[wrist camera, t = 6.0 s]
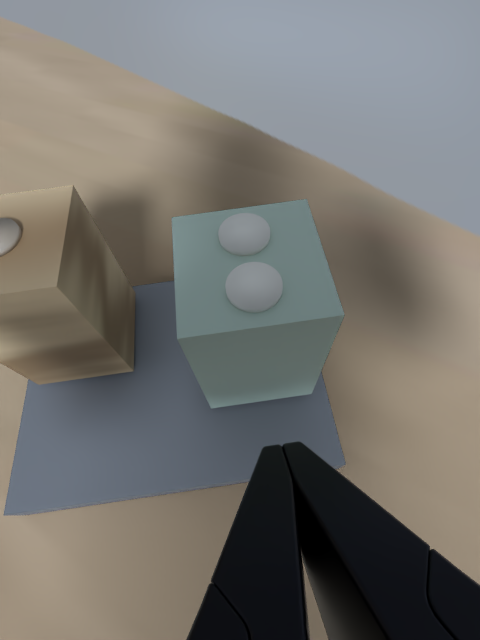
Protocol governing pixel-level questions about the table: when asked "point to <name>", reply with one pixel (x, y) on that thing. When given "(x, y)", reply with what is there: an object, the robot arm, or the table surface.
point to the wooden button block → (61, 291)
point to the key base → (150, 427)
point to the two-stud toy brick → (254, 301)
